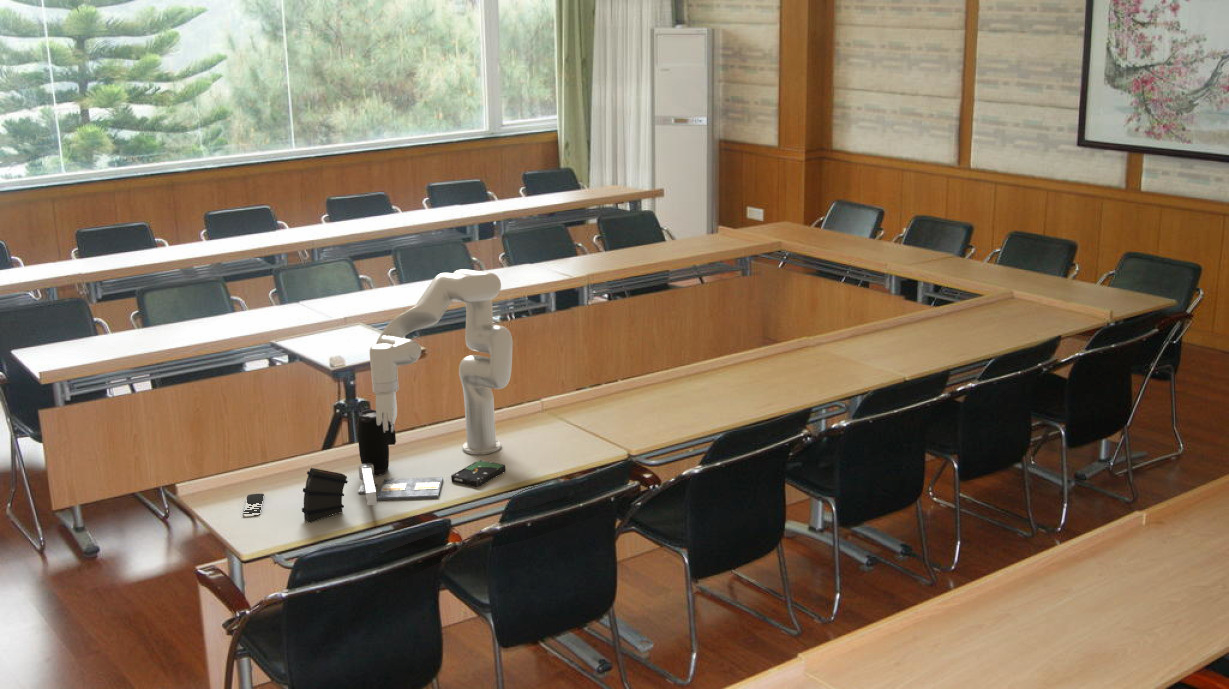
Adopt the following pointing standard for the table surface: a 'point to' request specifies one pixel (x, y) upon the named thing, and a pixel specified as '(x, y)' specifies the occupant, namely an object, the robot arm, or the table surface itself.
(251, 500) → the remote control
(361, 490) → the pivot post
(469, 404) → the robot arm
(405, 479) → the psu panel
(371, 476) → the bar
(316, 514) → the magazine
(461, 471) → the disk drive
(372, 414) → the portable speaker
